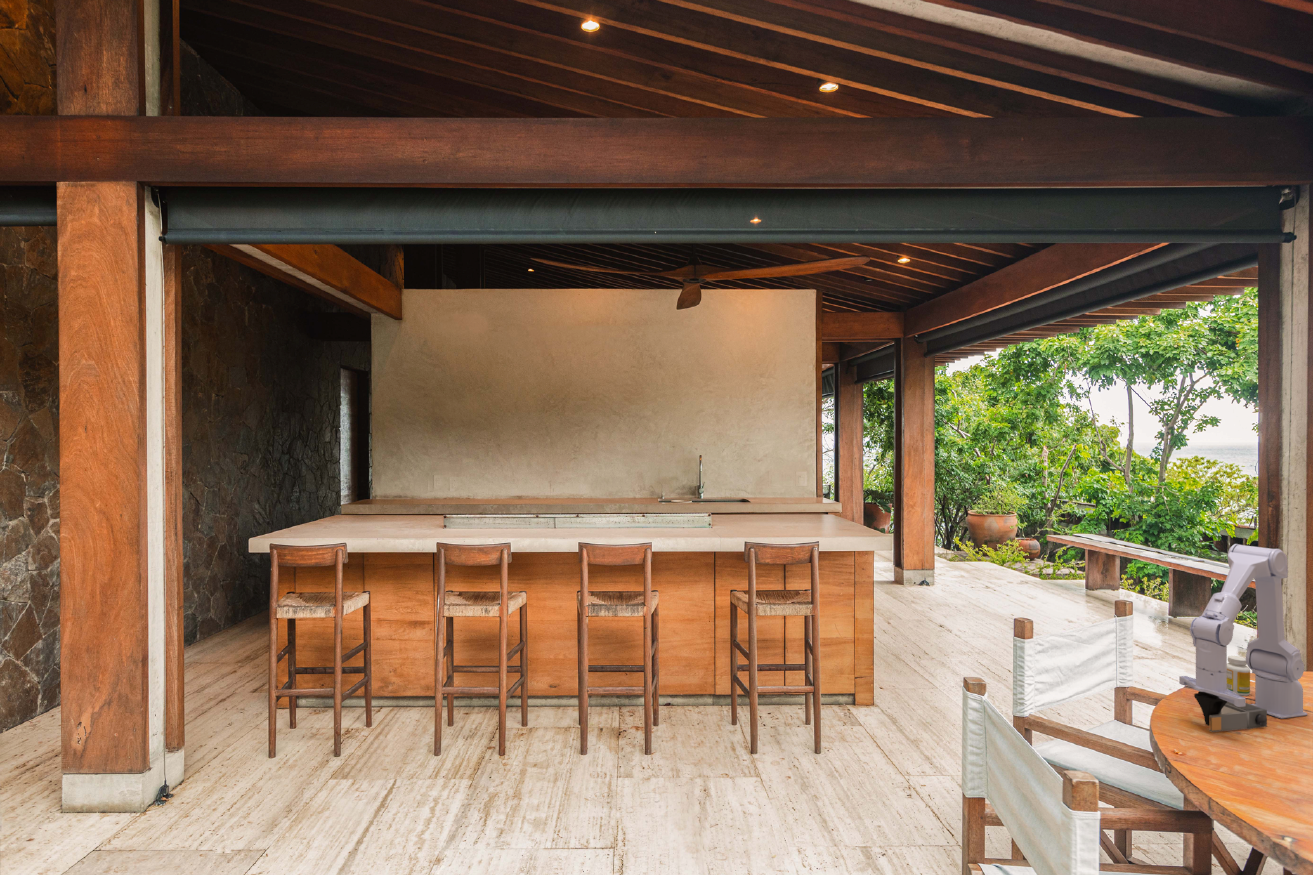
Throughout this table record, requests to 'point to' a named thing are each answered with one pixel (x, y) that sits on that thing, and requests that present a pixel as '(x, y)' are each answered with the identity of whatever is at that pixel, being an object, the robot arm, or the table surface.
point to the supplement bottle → (1238, 676)
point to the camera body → (1255, 714)
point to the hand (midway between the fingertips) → (1210, 724)
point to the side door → (1229, 721)
